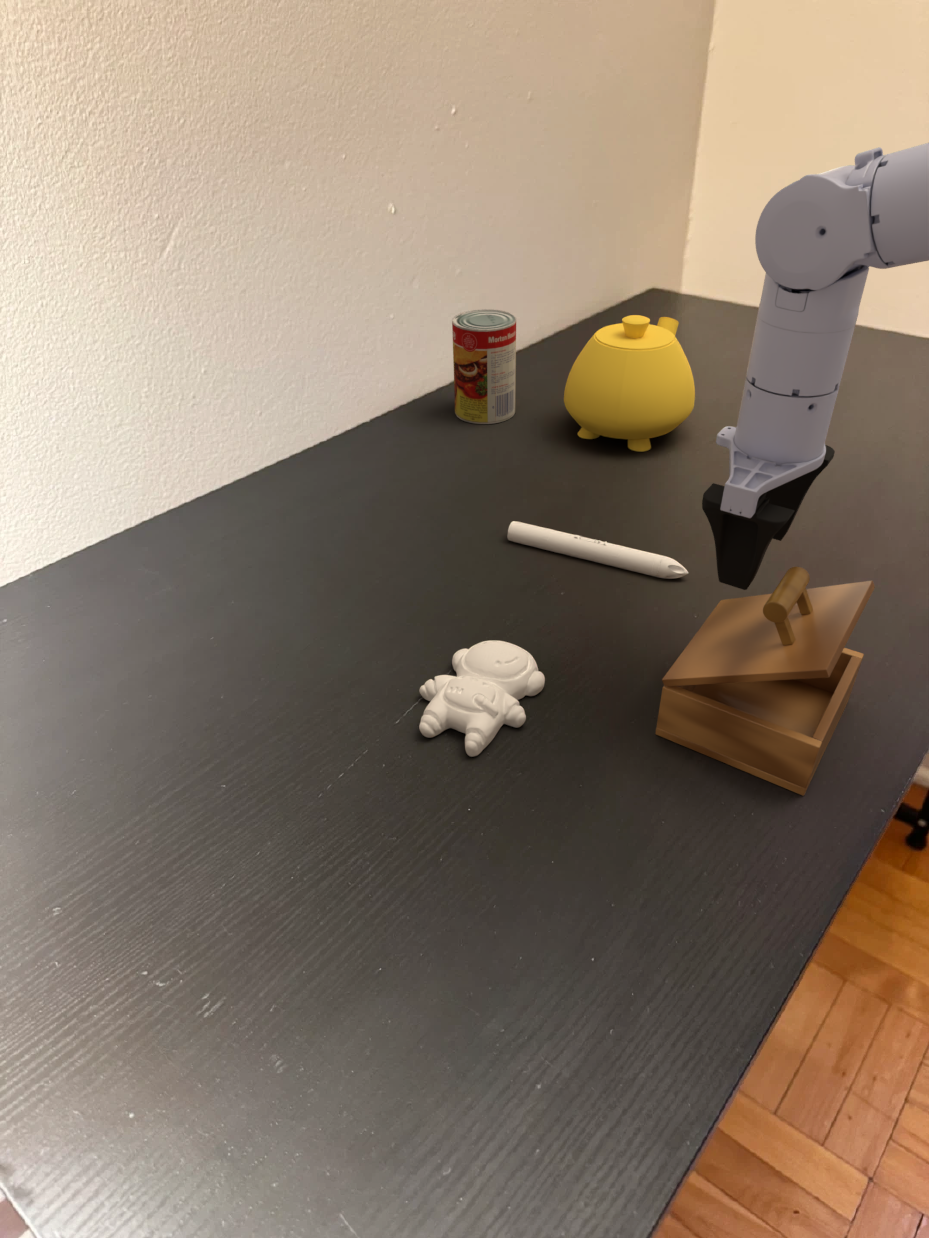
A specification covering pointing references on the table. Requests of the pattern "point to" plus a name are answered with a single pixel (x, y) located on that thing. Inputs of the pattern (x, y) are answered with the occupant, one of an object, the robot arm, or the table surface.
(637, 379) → the teapot
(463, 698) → the astronaut figurine
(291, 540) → the table surface
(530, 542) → the marker
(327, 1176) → the table surface
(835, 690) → the keepsake box
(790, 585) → the brown piece
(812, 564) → the table surface
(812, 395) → the robot arm
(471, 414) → the canned food
